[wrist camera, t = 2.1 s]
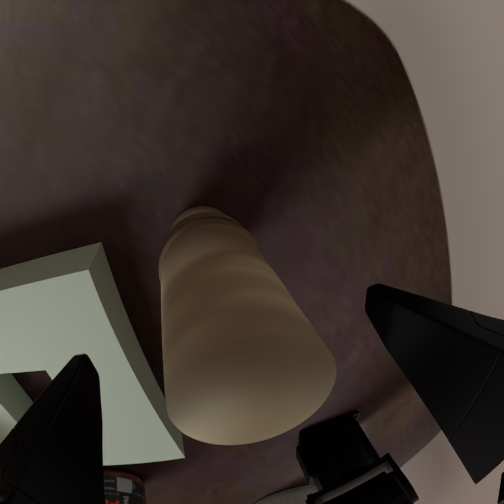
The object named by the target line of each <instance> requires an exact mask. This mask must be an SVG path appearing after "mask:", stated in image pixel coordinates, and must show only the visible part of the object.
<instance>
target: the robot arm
mask: <svg viewBox="0 0 504 504" xmlns="http://www.w3.org/2000/svg"><path fill="white" fill-rule="evenodd" d="M365 311H366V314H367V316H368V317H369V319H370V321H371V323H372V324H373V326H374V328H375V330H376V331H377V333H378V335H379V337H380V338H381V340H382V342H383V344H384V345H385V347H386V348H387V350H388V351H389V353H390V354H391V356H392V357H393V359H394V360H395V361H396V363H397V364H398V366H399V367H400V369H401V370H402V371H403V373H404V374H405V376H406V377H407V379H408V380H409V381H410V383H411V384H412V386H413V387H414V389H415V390H416V392H417V393H418V395H419V396H420V398H421V399H422V401H423V402H424V404H425V405H426V407H427V408H428V410H429V411H430V413H431V414H432V416H433V417H434V419H435V420H436V422H437V423H438V425H439V426H440V428H441V429H442V431H443V432H444V434H445V436H446V437H447V439H449V440H448V441H449V442H450V444H451V445H452V447H453V449H454V450H455V452H456V453H457V455H458V457H459V458H460V460H461V461H462V463H463V465H464V466H465V468H466V470H467V471H468V473H469V475H470V476H471V478H472V480H473V481H474V483H475V484H477V483H478V482H480V481H481V480H482V479H483V478H484V477H486V476H487V475H488V474H489V473H490V472H491V471H492V470H493V469H495V468H496V466H498V465H499V464H500V463H501V462H502V461H503V460H504V320H501V319H497V318H493V317H489V316H486V315H482V314H479V313H475V312H472V311H468V310H466V309H462V308H459V307H456V306H453V305H449V304H446V303H443V302H439V301H436V300H433V299H429V298H426V297H423V296H419V295H416V294H413V293H410V292H406V291H403V290H400V289H396V288H393V287H390V286H386V285H383V284H375V285H372V286H369V287H368V289H367V293H366V303H365ZM359 417H360V413H359V411H354V412H351V413H349V414H347V415H344V416H342V417H339V418H337V419H334V420H332V421H329V422H327V423H324V424H321V425H318V426H316V427H313V428H310V429H307V430H304V431H302V432H300V433H299V445H298V446H297V447H296V458H297V460H298V462H299V464H300V467H301V469H302V471H303V473H304V475H305V478H306V480H307V482H308V484H309V485H311V486H312V485H314V484H315V486H316V488H317V490H318V492H315V493H313V494H312V493H311V494H309V495H307V500H305V501H306V504H414V503H415V502H416V501H418V500H419V498H418V496H417V494H416V492H415V490H414V488H413V487H412V485H411V484H410V482H409V481H408V479H407V478H406V476H405V475H404V474H403V472H402V471H401V470H400V468H399V467H398V465H397V464H396V463H395V461H394V460H393V459H392V457H391V456H390V454H389V453H387V454H385V455H384V456H383V457H382V458H380V457H379V455H378V453H377V452H376V450H375V449H374V447H373V446H372V444H371V442H370V441H369V439H368V438H367V436H366V434H365V433H364V431H363V430H362V428H361V427H360V425H359V423H358V420H359ZM386 471H389V472H390V473H388V474H387V473H386ZM497 503H498V504H504V472H503V473H502V475H501V484H500V490H499V497H498V502H497ZM0 504H106V503H105V491H104V475H103V420H102V407H101V393H100V378H99V374H98V372H97V370H96V368H95V366H94V365H93V363H92V361H91V359H90V358H89V356H88V355H87V354H78V355H74V356H73V357H72V358H71V359H70V361H69V362H68V363H67V364H66V365H65V366H64V367H63V369H62V370H61V371H60V372H59V373H58V374H57V375H56V377H55V378H54V379H53V380H52V381H51V382H50V384H49V385H48V386H47V387H46V388H45V389H44V391H43V392H42V393H41V394H40V395H39V397H38V398H37V399H36V400H35V401H34V403H33V404H32V405H31V406H30V407H29V409H28V410H27V411H26V412H25V414H24V415H23V416H22V417H21V418H20V420H19V421H18V422H17V423H16V425H15V426H14V428H12V430H11V431H10V432H9V434H8V435H7V436H6V437H5V439H4V440H3V441H2V442H1V444H0Z"/></svg>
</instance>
